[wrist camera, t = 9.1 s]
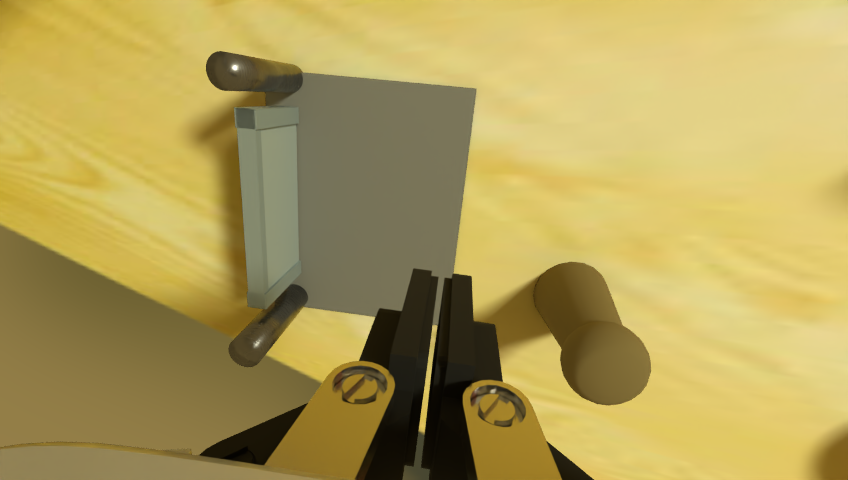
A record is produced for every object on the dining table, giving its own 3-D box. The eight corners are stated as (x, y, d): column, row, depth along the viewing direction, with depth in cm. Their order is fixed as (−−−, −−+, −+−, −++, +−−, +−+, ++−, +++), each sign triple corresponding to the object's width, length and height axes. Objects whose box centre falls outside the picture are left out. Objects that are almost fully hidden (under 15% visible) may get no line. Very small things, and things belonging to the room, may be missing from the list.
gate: (280, 105, 31) (233, 107, 25) (298, 107, 31) (255, 109, 25) (286, 271, 36) (247, 306, 30) (301, 273, 35) (266, 309, 29)
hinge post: (278, 63, 30) (204, 49, 22) (304, 65, 30) (239, 53, 22) (279, 91, 31) (207, 89, 23) (304, 93, 31) (241, 92, 22)
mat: (266, 69, 31) (264, 68, 30) (476, 88, 29) (476, 88, 29) (276, 301, 37) (274, 302, 37) (446, 324, 36) (446, 326, 36)
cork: (524, 316, 35) (546, 407, 25) (546, 253, 33) (581, 325, 23) (592, 333, 35) (642, 432, 25) (619, 272, 33) (686, 352, 22)
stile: (263, 239, 35) (198, 284, 27) (308, 245, 35) (257, 292, 27) (266, 301, 37) (207, 361, 29) (309, 307, 37) (261, 369, 29)
